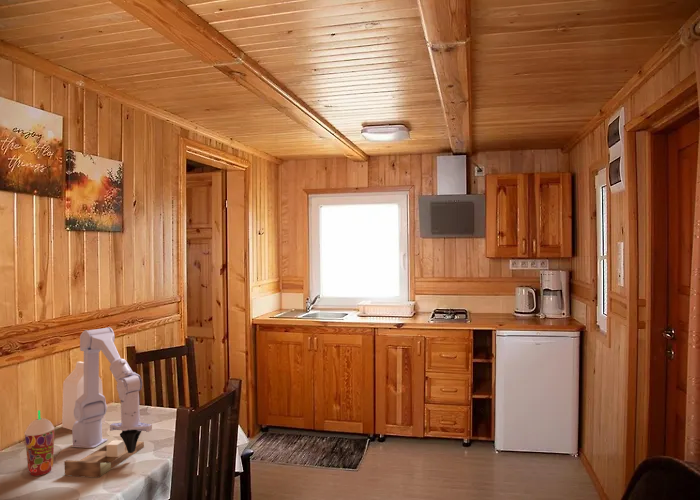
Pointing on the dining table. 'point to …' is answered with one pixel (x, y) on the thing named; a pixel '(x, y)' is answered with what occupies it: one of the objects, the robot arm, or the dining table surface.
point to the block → (115, 448)
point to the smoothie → (39, 446)
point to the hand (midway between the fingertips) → (131, 451)
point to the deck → (97, 462)
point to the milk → (74, 394)
